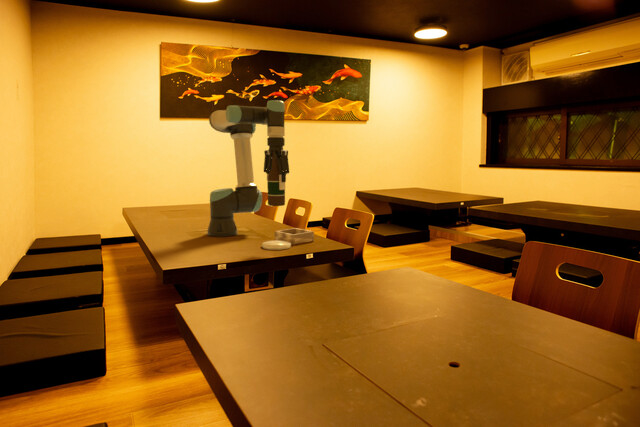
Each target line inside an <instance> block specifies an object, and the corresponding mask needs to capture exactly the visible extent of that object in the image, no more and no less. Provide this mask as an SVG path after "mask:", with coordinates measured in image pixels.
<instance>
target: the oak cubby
mask: <svg viewBox="0 0 640 427" xmlns="http://www.w3.org/2000/svg"><path fill="white" fill-rule="evenodd" d="M314 240H315V232H314V231H313V230H308V229H302V228H298V227H293V228H287V229H279V230H275V231H274V241H288V242H290V243H291V246H292V245H298V244H305V243H308V242H314Z"/></svg>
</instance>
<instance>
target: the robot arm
mask: <svg viewBox="0 0 640 427" xmlns="http://www.w3.org/2000/svg"><path fill="white" fill-rule="evenodd" d="M285 110H286V109H285V102H284V101H283V100H278V99H277V100H276V99H275V100H274V99H273V100H267V103H266V106H263V107H262V106H247V105H238V104H237V105H236V104H235V105H234V104H233V105H227V107H226V109H220V110H219V109H218V110H215V111H213V112H211V114H210V115H209V118H208V121H209V122H208V123H209V125H210V127H211V128H212V129H213V130H215V131H216V132H219V133H224V134H230V138H231V139H232V140H233V145H234V147H233V148H234V157H235V158H234V159H235V168H236V180H237V182H236V183H237V185H236V186H235V187H234V189H235V190H234V189H233V187H232V188H231V187H227V188H220V189H219V188H218V189H214V190H212V191H211V192H210V193H209V204H210V205H209V213H210V215H209V217H210V220H209V224H208V227H207V236H210V237H218V238H219V237H220V238H223V237H232V236H236V235H238V228H237V225H236V222H235V218H234V215H235V214H243V213H256V212H258V211H260V209H261V207H262V205H263V204H262V203H263V193H262V191H261V190H260V189H258V185H256V184H255V179H254V166H253V157H252V156H253V155H252V147H251V146H252V145H251V139H252V137H253V134H255V133H256V126H257V125H262V126H266V127H267V128H266V129H267V130H266V131H267V132H266V133H267V142H266V143H267V145H266V146H268V147H269V148H268V150H267V149H265V150H264V159H263V160H264V162H263V172H264V173H265V174H266V181H267V184H266V185H267V190H268V174H269V172H270V171H271V168H272V156H273V154H272V152H273V151H274V155H275V158H276V160H277V162H278V166H279V170H280V175H279V190H285V191H286V181H287V177H286V176H287V174H290V166H289V165H290V164H289V151H288V150H286V149H285V150H284V146H285V145H286V144H285V140H286V139H285V136H286V135H285V134H286V133H285V130H286V128H285V127H286V126H285Z"/></svg>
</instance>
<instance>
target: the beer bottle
mask: <svg viewBox="0 0 640 427" xmlns="http://www.w3.org/2000/svg"><path fill="white" fill-rule="evenodd" d="M272 154H273V156H272V168H271V171H270V170H269V171H270V172H269V174H268V189H267V205H268V206H270V207H282V206H285V205H286V204H285V202H286V189H285V190H279V175H280V170H279V166H278V162H277V160H276V158H275V155H274V151H273V152H272Z"/></svg>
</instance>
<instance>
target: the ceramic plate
mask: <svg viewBox="0 0 640 427" xmlns="http://www.w3.org/2000/svg"><path fill="white" fill-rule="evenodd" d="M261 247H262V249H265V250H270V251H282V250H287V249H291V247H292V244H291V243H290V242H288V241H276V240H267V241H264V242H262V243H261Z"/></svg>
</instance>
